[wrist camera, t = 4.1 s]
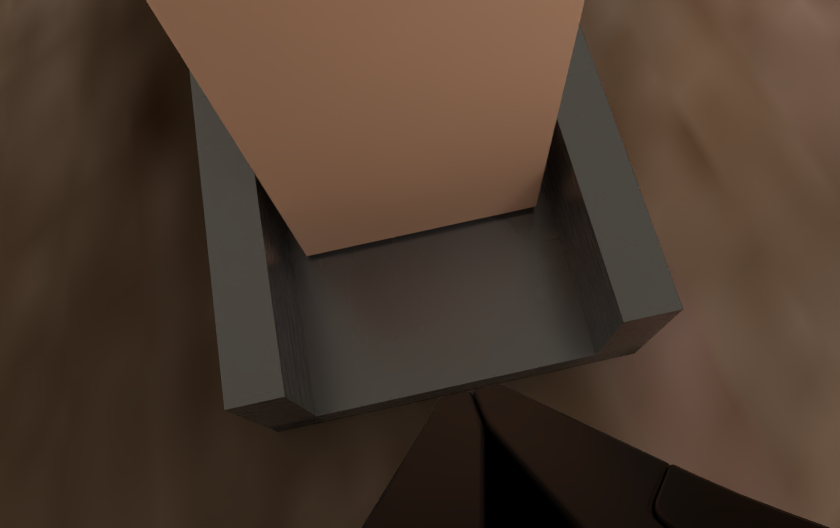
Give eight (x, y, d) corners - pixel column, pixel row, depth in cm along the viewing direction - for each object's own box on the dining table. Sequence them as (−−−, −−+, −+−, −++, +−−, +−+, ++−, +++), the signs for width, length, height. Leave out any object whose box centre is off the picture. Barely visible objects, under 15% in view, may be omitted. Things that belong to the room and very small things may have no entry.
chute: (634, 353, 17) (682, 308, 13) (278, 431, 17) (224, 409, 13) (457, -186, 24) (456, -317, 20) (204, -134, 24) (155, -254, 20)
